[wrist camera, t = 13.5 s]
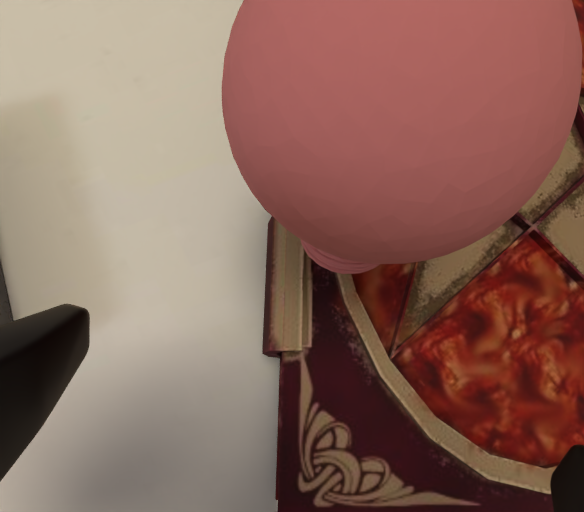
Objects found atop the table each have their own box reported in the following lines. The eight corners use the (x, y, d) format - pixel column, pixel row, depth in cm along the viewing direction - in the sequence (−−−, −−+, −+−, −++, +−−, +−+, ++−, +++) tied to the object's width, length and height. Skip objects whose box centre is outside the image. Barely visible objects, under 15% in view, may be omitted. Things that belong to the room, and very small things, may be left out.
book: (741, 505, 20) (888, 540, 16) (256, 497, 19) (254, 532, 15) (626, -13, 28) (699, -95, 24) (279, -37, 27) (282, -128, 23)
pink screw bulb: (239, 158, 19) (177, -207, 7) (410, 140, 19) (602, -231, 8) (258, 333, 17) (216, 206, 5) (449, 308, 17) (781, 142, 6)
